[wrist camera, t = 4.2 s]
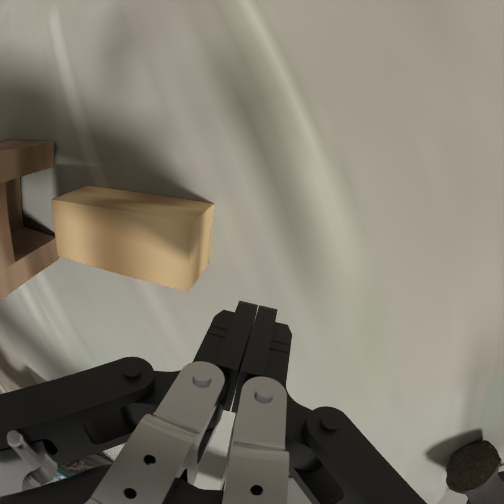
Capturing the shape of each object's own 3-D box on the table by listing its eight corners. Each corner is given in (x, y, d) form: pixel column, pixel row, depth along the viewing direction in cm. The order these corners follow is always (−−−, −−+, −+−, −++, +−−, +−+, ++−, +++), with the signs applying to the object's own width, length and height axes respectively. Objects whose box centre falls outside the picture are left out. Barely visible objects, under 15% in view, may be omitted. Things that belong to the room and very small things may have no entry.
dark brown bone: (497, 468, 30) (467, 409, 28) (528, 488, 19) (517, 437, 18) (459, 508, 29) (412, 468, 27) (486, 534, 19) (453, 509, 17)
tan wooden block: (215, 202, 18) (191, 223, 15) (210, 261, 20) (188, 291, 16) (88, 185, 19) (51, 199, 16) (91, 235, 21) (58, 255, 18)
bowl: (66, 453, 49) (49, 479, 40) (49, 410, 38) (23, 445, 30) (158, 503, 49) (145, 532, 40) (175, 480, 38) (157, 524, 29)
